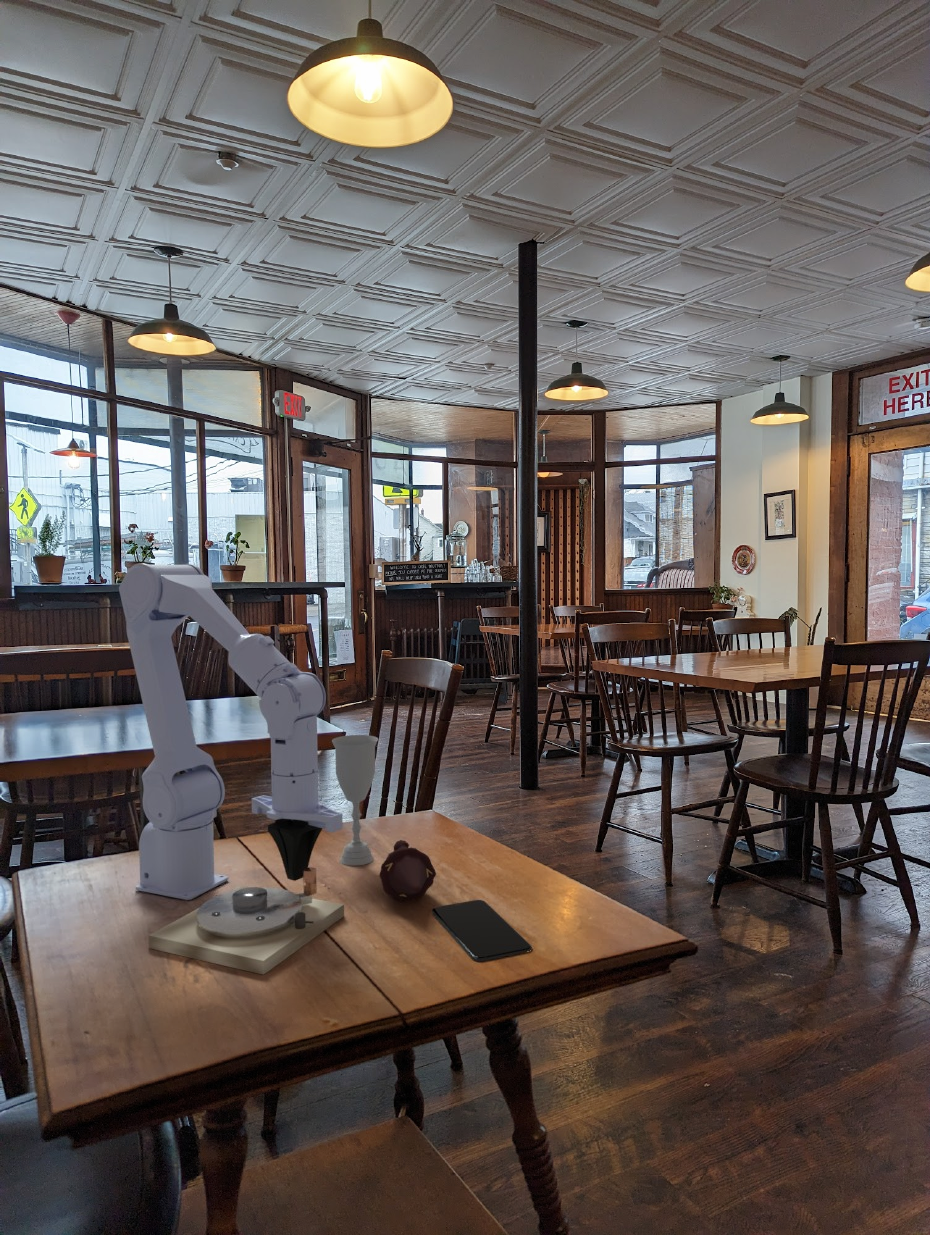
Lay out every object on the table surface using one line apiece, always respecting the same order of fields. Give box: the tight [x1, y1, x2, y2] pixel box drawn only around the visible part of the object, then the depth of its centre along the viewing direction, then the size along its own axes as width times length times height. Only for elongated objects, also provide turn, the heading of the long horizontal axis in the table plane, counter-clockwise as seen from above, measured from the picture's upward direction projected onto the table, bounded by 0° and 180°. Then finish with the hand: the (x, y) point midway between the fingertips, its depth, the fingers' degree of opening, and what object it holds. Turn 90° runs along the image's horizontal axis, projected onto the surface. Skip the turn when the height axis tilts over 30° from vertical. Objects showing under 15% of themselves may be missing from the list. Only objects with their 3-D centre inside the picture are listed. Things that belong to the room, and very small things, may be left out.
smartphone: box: [431, 899, 533, 963], centre depth 97 cm, size 7×1×15 cm
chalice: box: [331, 734, 379, 867], centre depth 121 cm, size 7×7×18 cm
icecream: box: [378, 839, 437, 902], centre depth 106 cm, size 7×7×15 cm
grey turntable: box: [197, 866, 318, 938], centre depth 97 cm, size 14×12×4 cm
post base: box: [148, 885, 345, 976], centre depth 97 cm, size 16×16×3 cm
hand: (296, 877), depth 103 cm, fingers closed
